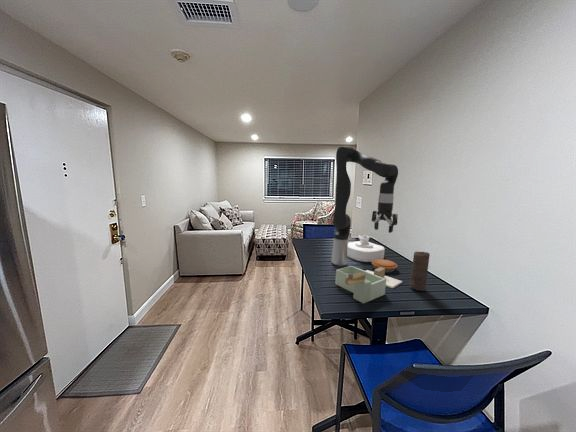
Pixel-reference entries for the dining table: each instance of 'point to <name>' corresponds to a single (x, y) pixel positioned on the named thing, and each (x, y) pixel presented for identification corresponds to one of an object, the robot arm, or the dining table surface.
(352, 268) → the light green open box
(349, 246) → the white knobbed disc
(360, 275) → the tan tapered bar
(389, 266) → the pie
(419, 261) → the candle
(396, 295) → the dining table surface
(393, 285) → the lid
